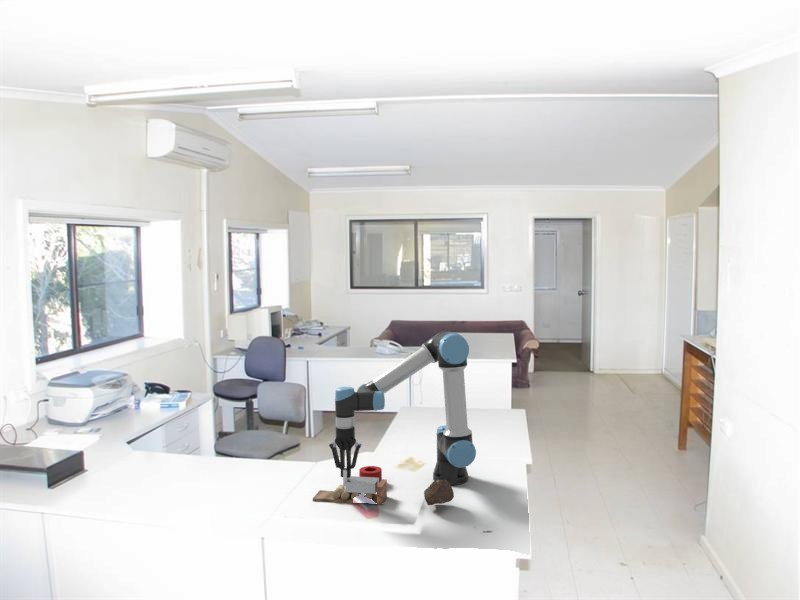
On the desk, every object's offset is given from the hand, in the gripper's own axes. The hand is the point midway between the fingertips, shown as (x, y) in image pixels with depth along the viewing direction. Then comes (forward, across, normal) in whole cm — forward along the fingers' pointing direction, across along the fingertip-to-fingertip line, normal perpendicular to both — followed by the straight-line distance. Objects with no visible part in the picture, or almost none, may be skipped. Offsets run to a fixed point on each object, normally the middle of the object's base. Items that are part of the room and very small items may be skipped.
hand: (345, 485), depth 244 cm
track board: (+5, -2, 0) cm, 6 cm away
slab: (+2, -7, 0) cm, 7 cm away
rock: (+6, -36, +1) cm, 37 cm away
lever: (+6, -4, -21) cm, 22 cm away
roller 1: (+2, +2, 0) cm, 3 cm away
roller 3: (+3, -8, 0) cm, 9 cm away
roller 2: (+2, -6, 0) cm, 6 cm away
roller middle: (+2, -2, 0) cm, 3 cm away
